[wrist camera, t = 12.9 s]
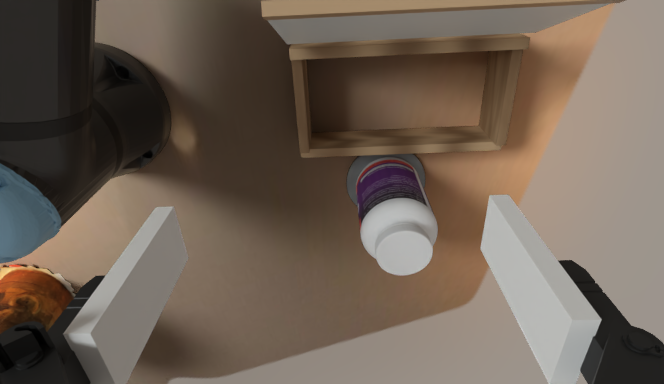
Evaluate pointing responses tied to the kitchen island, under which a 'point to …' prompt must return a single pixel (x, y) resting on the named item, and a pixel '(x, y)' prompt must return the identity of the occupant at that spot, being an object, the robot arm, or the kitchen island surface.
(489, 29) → the lid
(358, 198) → the pill bottle
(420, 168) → the grey oval disc
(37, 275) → the vessel
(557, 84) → the kitchen island surface
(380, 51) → the wooden box
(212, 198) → the kitchen island surface
